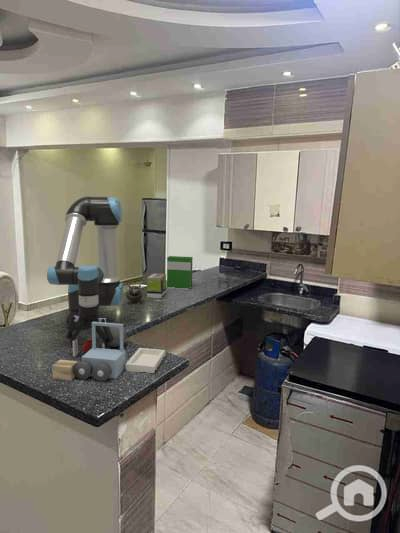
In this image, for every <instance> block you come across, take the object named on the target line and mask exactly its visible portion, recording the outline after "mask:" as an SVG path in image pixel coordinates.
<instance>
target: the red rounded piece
mask: <svg viewBox="0 0 400 533" xmlns="http://www.w3.org/2000/svg"><path fill="white" fill-rule="evenodd" d="M96 348H99V347H98V344H97V343H96ZM91 349H92V338H90V337H88V339H87V340H86V341H85V342H84V343H83V345H82V352H83V355H85V354H86V353H87V352H88V351H89V350H91Z"/></svg>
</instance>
